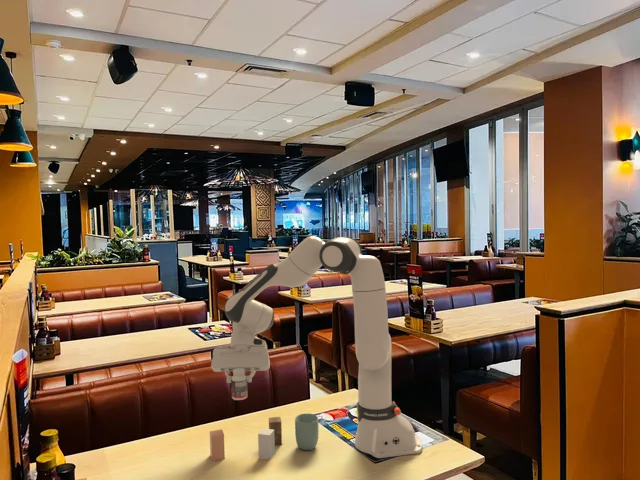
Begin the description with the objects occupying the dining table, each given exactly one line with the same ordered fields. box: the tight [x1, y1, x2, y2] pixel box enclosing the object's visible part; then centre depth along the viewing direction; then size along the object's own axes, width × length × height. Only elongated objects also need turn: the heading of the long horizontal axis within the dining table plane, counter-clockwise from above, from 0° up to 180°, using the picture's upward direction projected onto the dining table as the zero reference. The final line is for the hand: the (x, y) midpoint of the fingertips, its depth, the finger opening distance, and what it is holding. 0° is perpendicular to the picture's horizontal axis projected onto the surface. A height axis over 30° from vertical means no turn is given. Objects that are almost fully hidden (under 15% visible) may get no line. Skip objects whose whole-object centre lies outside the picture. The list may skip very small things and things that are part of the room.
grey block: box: [257, 428, 276, 461], centre depth 153 cm, size 4×4×8 cm
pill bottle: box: [230, 368, 248, 401], centre depth 162 cm, size 5×5×10 cm
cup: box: [294, 413, 320, 451], centre depth 158 cm, size 8×8×10 cm
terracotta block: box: [209, 428, 226, 462], centre depth 153 cm, size 4×4×8 cm
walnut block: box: [268, 416, 283, 446], centre depth 162 cm, size 4×4×8 cm
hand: (239, 381), depth 161 cm, fingers closed on pill bottle, 5 cm apart
